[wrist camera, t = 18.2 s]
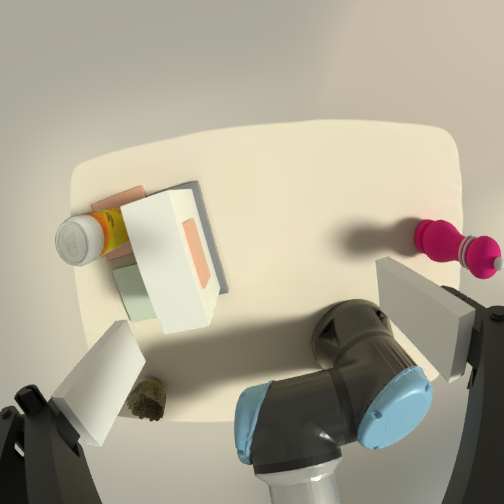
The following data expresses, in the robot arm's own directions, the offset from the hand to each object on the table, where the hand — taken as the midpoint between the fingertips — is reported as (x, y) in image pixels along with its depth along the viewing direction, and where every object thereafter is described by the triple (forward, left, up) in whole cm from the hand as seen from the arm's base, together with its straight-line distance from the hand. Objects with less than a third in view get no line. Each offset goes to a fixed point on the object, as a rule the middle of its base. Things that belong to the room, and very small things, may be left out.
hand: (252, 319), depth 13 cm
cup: (-26, +27, -31) cm, 49 cm away
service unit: (0, +10, -31) cm, 32 cm away
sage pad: (-6, +20, -31) cm, 37 cm away
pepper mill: (-9, -31, -31) cm, 45 cm away
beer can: (+6, +20, -30) cm, 37 cm away
